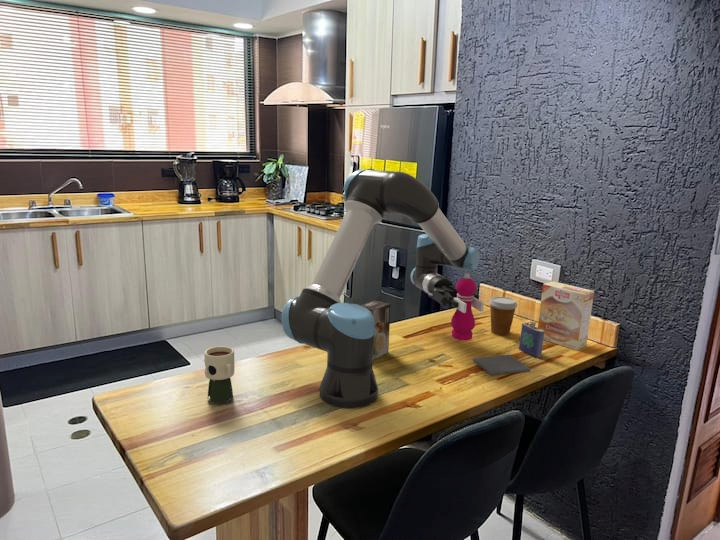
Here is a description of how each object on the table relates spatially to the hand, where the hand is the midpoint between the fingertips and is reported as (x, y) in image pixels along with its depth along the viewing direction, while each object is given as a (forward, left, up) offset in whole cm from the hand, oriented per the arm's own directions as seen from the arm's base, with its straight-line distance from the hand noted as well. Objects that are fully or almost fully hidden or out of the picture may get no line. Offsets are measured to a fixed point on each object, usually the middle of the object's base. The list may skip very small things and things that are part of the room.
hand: (473, 307), depth 160 cm
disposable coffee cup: (+25, +23, -18) cm, 39 cm away
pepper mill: (0, +5, -11) cm, 12 cm away
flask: (+24, +4, -18) cm, 31 cm away
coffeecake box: (+41, +11, -18) cm, 46 cm away
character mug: (-73, -6, -18) cm, 75 cm away
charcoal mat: (+9, -3, -18) cm, 20 cm away
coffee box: (-26, +14, -18) cm, 35 cm away
